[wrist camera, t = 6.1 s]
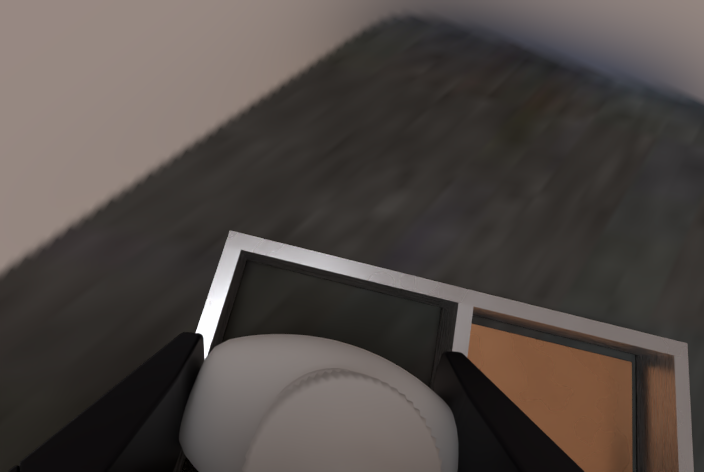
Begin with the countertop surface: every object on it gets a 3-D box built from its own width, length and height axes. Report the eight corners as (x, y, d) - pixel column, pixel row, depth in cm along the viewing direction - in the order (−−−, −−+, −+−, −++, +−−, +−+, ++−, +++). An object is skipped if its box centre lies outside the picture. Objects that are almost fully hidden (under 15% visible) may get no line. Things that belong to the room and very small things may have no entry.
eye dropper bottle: (304, 299, 15) (323, 148, 4) (404, 406, 15) (756, 576, 3) (216, 381, 14) (-112, 493, 3) (321, 502, 14) (447, 1288, 2)
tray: (648, 343, 17) (687, 343, 15) (653, 606, 14) (702, 641, 13) (237, 243, 16) (229, 230, 14) (151, 507, 13) (129, 531, 11)
